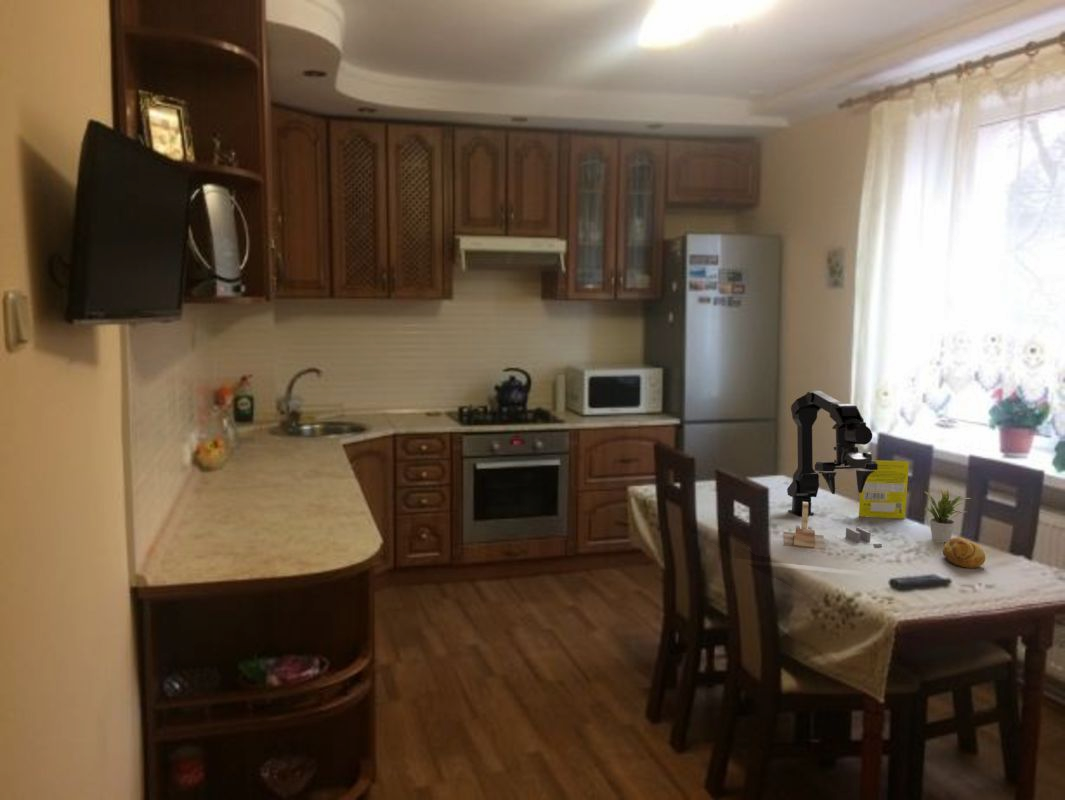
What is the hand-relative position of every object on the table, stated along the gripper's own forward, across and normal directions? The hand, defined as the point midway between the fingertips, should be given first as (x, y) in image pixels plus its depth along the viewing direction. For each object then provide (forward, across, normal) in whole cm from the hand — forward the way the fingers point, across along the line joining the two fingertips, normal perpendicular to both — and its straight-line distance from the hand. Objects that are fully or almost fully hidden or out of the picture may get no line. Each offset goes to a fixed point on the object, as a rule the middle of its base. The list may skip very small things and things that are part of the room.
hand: (846, 493), depth 262 cm
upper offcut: (+12, -18, -7) cm, 23 cm away
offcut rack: (+15, -16, -3) cm, 22 cm away
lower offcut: (+14, -18, -6) cm, 24 cm away
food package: (+11, +25, +21) cm, 35 cm away
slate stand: (+15, +1, -4) cm, 15 cm away
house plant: (+16, +29, -7) cm, 33 cm away
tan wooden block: (+13, -15, -1) cm, 20 cm away
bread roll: (+19, +20, -26) cm, 38 cm away
